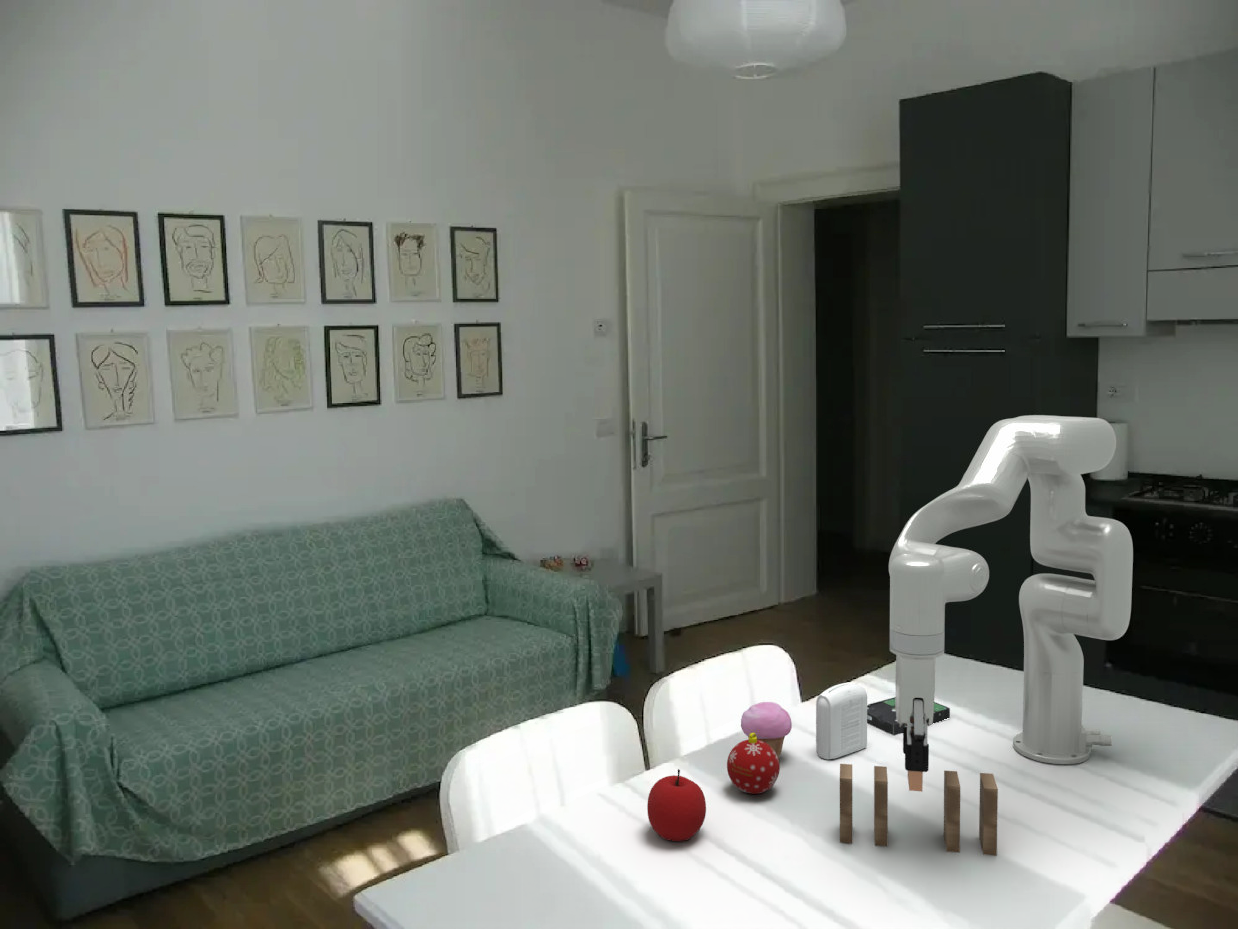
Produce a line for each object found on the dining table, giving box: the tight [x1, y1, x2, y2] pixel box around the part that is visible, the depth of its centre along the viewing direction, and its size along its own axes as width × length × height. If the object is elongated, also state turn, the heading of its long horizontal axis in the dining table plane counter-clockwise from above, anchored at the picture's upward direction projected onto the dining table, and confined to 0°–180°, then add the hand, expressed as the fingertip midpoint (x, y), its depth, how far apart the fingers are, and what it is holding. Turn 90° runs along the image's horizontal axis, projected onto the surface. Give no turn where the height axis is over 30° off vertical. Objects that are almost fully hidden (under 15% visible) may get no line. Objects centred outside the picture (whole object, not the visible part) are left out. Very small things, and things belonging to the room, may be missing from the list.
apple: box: [646, 768, 707, 842], centre depth 150 cm, size 9×9×10 cm
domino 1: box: [839, 763, 853, 845], centre depth 148 cm, size 2×5×10 cm, turn 167°
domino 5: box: [978, 772, 999, 856], centre depth 143 cm, size 2×5×10 cm, turn 167°
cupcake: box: [740, 701, 793, 760], centre depth 175 cm, size 9×9×10 cm
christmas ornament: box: [726, 733, 780, 795], centre depth 163 cm, size 9×9×10 cm
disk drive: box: [867, 696, 951, 736], centre depth 191 cm, size 10×3×15 cm
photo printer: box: [815, 682, 868, 760], centre depth 177 cm, size 10×4×12 cm, turn 123°
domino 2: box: [873, 765, 889, 847], centre depth 146 cm, size 2×5×10 cm, turn 167°
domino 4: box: [943, 770, 961, 853], centre depth 144 cm, size 2×5×10 cm, turn 167°
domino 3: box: [907, 718, 924, 792], centre depth 144 cm, size 2×5×10 cm, turn 167°
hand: (915, 761), depth 144 cm, fingers closed on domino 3, 4 cm apart
